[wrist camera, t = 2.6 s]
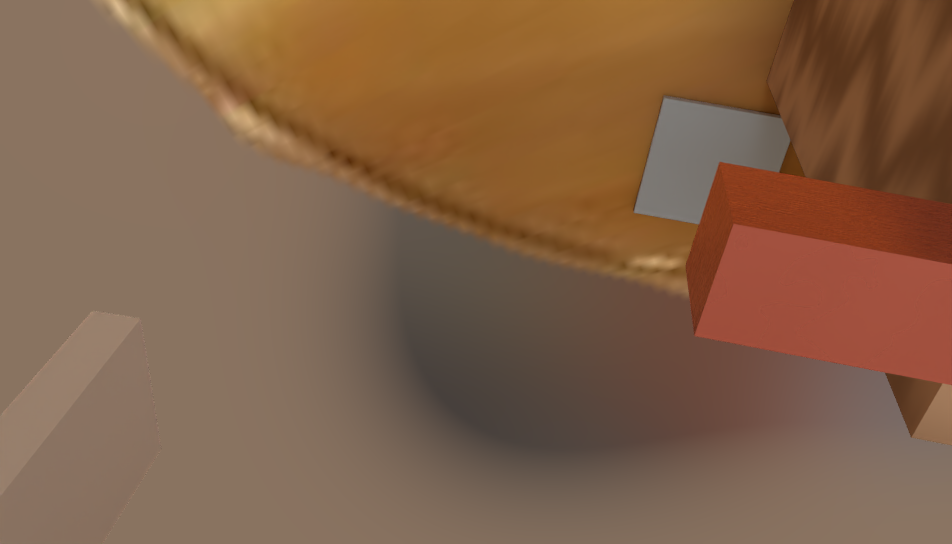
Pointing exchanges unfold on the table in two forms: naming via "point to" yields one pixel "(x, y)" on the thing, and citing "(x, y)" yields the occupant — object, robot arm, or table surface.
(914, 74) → the stand
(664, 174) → the tile
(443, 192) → the table surface
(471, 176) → the table surface
